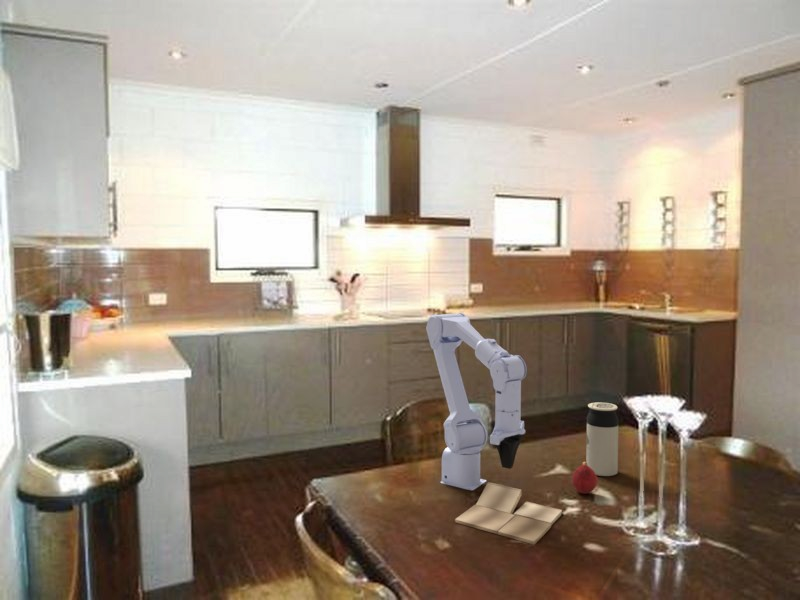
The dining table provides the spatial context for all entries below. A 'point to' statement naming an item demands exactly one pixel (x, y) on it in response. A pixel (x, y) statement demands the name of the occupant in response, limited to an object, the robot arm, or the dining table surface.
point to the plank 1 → (499, 497)
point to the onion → (584, 479)
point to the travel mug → (602, 439)
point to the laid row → (504, 524)
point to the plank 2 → (539, 512)
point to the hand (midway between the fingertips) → (507, 467)
